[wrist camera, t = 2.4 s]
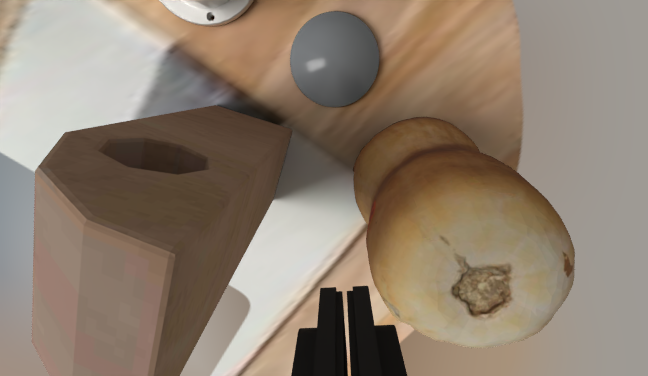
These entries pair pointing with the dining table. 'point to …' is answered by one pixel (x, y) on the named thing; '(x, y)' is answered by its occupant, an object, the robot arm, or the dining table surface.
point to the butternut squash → (459, 237)
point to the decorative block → (145, 236)
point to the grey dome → (334, 59)
